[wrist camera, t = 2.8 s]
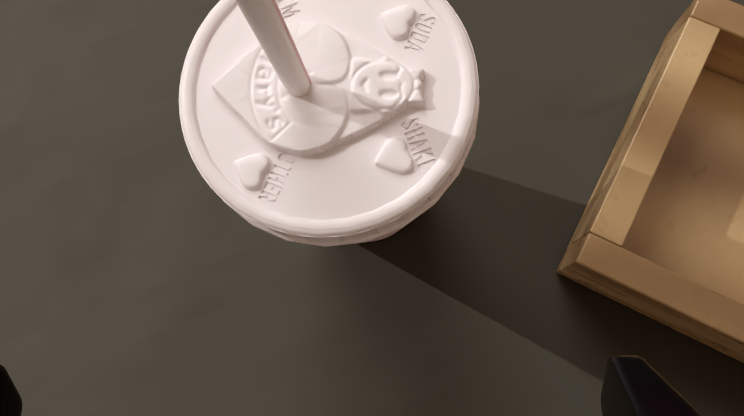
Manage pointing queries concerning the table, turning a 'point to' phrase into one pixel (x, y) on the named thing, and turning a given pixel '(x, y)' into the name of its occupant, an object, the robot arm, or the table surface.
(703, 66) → the caddy
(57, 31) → the table surface
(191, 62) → the smoothie
